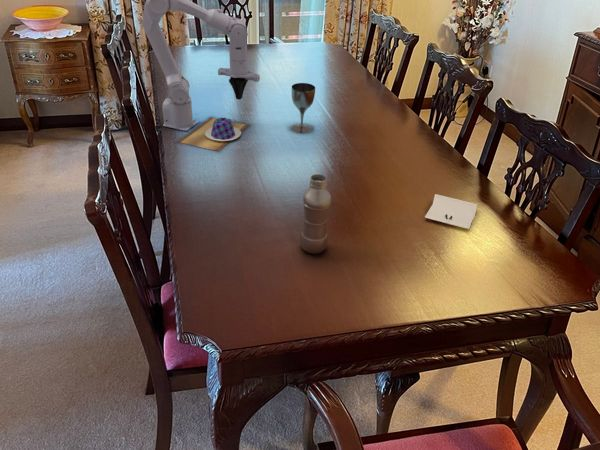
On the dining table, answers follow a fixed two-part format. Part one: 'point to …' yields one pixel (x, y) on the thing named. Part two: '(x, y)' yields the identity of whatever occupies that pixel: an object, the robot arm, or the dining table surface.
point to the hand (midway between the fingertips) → (239, 98)
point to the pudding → (222, 130)
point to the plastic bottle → (315, 215)
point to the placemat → (201, 140)
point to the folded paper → (452, 211)
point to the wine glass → (302, 103)
